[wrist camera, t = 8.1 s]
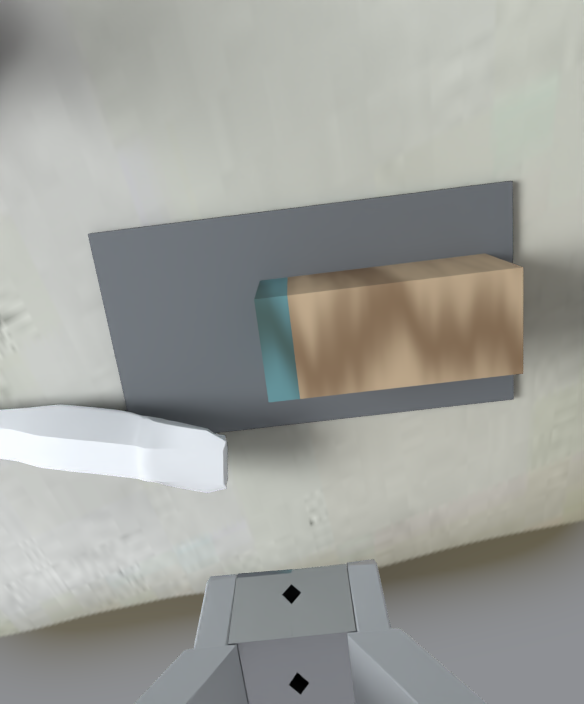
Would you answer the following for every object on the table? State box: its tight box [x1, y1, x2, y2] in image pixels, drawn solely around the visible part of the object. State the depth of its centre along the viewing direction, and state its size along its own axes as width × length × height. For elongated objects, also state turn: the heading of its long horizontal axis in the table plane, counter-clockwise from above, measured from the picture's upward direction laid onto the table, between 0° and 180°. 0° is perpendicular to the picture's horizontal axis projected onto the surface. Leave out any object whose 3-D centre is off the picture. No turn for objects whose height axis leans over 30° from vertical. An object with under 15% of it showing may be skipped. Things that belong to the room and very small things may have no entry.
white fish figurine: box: [0, 404, 228, 493], centre depth 31 cm, size 6×18×4 cm, turn 89°
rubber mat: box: [88, 181, 514, 433], centre depth 31 cm, size 12×22×1 cm, turn 97°
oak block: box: [254, 254, 523, 402], centre depth 28 cm, size 5×5×12 cm
